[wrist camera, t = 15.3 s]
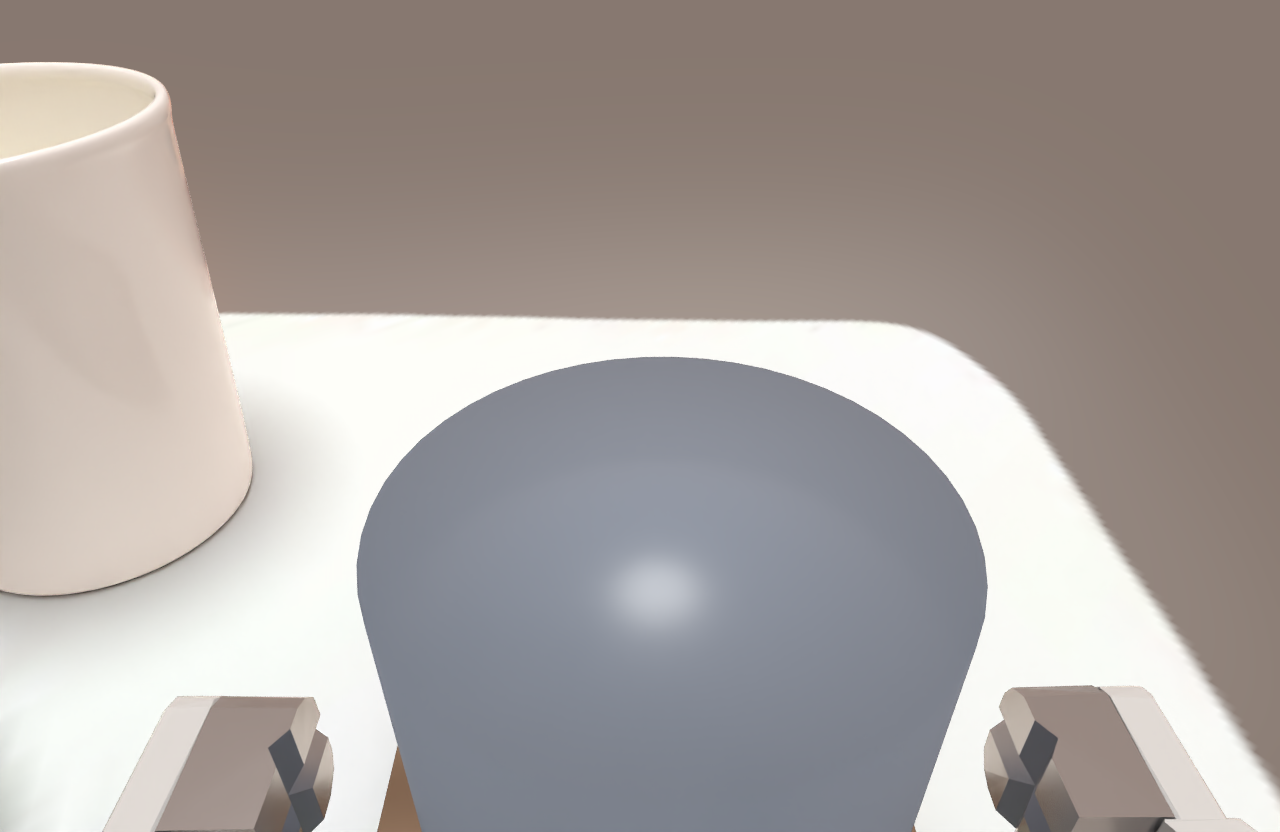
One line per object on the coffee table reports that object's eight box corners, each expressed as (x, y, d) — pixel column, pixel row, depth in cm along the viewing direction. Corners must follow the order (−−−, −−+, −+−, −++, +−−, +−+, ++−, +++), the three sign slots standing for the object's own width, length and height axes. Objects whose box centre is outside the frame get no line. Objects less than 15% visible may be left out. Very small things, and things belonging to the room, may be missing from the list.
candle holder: (-84, 481, 28) (-321, 99, 21) (229, 381, 33) (121, 45, 26) (-60, 682, 22) (-387, 230, 15) (324, 521, 26) (215, 125, 20)
